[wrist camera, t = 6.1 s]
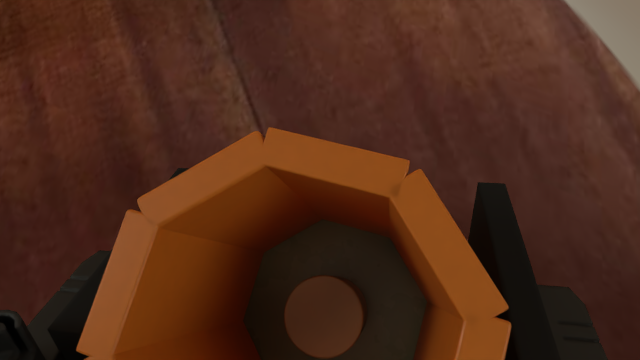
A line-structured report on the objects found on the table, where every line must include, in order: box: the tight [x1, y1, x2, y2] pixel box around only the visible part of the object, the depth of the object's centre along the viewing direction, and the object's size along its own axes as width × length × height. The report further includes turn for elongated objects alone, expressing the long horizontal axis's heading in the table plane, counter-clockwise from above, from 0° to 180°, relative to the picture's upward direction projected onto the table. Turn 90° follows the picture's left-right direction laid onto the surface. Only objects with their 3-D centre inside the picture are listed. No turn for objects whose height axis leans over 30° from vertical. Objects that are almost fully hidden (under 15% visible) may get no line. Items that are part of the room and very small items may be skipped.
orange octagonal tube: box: [76, 127, 512, 360], centre depth 12 cm, size 8×8×8 cm
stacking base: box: [243, 219, 427, 360], centre depth 17 cm, size 10×10×8 cm
